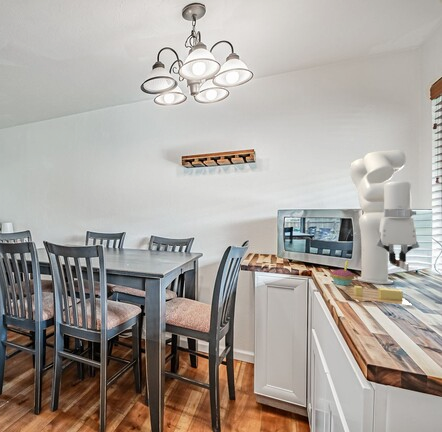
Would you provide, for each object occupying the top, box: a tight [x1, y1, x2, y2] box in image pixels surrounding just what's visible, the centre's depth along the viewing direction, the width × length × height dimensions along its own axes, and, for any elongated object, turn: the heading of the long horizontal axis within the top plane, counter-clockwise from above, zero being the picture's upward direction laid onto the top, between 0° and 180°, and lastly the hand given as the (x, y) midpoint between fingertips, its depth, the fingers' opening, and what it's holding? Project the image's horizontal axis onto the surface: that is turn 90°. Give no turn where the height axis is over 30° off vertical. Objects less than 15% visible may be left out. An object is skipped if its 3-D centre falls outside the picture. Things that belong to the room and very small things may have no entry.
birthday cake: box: [329, 258, 355, 286], centre depth 137 cm, size 9×8×12 cm
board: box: [343, 286, 412, 306], centre depth 118 cm, size 22×16×1 cm
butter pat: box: [353, 285, 364, 296], centre depth 118 cm, size 4×2×3 cm, turn 151°
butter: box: [377, 287, 404, 300], centre depth 113 cm, size 4×6×3 cm, turn 60°
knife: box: [389, 256, 409, 272], centre depth 116 cm, size 20×2×3 cm, turn 150°
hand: (397, 263), depth 119 cm, fingers closed on knife, 1 cm apart
